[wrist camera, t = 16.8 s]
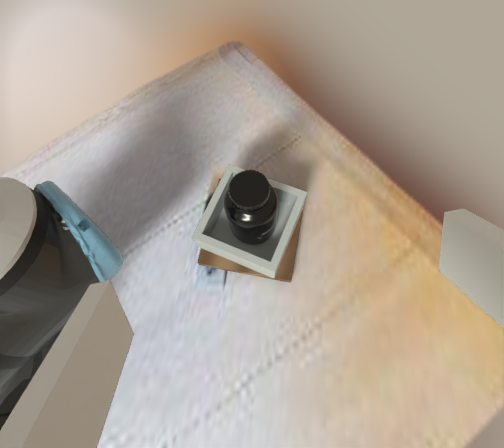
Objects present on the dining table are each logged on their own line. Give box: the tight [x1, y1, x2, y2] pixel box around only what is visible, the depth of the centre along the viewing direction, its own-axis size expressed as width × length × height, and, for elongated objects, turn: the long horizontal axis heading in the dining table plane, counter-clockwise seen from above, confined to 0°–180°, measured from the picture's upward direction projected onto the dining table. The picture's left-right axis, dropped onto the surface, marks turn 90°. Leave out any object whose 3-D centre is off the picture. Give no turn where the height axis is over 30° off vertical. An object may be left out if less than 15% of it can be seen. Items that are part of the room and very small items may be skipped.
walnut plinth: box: [198, 179, 303, 282], centre depth 50 cm, size 14×14×2 cm
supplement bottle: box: [224, 170, 278, 245], centre depth 41 cm, size 7×7×12 cm
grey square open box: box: [192, 164, 308, 278], centre depth 46 cm, size 12×12×6 cm
